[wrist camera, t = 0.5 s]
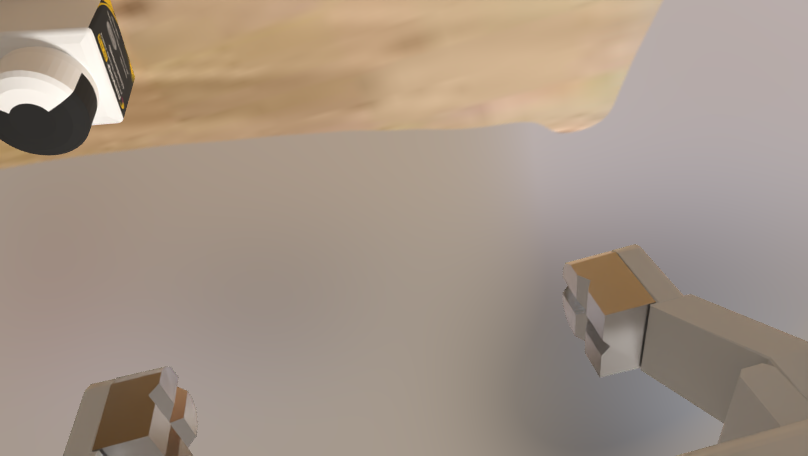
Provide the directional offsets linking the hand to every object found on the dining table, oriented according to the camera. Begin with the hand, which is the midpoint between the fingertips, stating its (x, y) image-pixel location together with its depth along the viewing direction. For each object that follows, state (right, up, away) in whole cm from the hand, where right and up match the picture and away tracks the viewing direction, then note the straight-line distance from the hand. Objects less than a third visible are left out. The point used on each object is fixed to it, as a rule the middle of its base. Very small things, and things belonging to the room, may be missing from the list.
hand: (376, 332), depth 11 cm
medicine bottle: (-25, +17, +32) cm, 44 cm away
